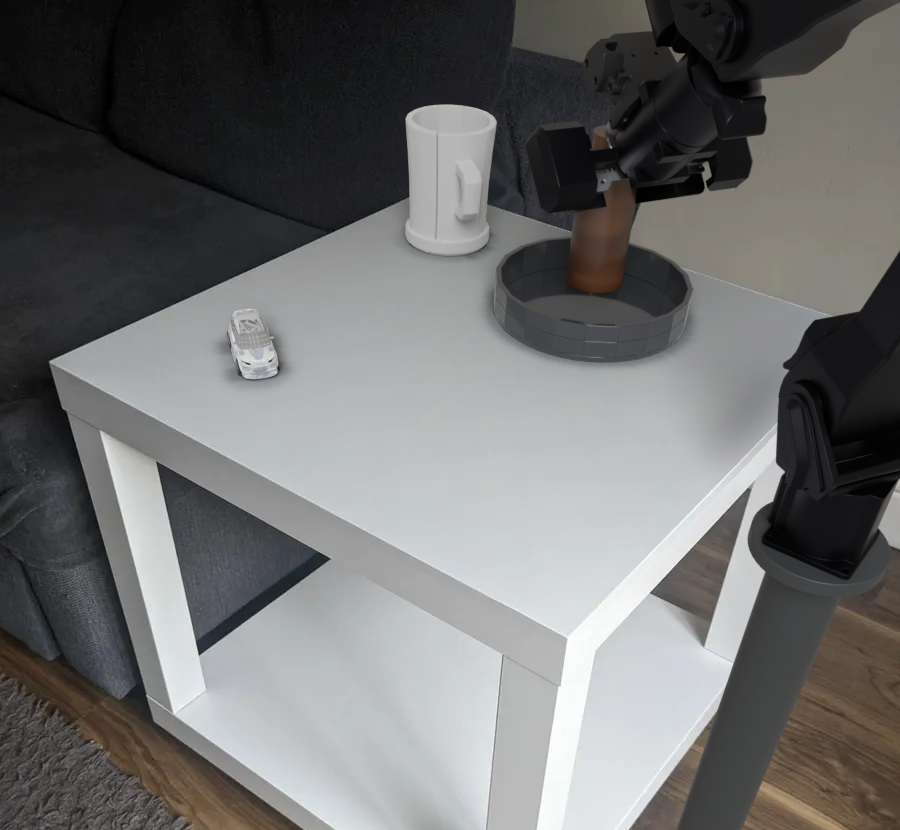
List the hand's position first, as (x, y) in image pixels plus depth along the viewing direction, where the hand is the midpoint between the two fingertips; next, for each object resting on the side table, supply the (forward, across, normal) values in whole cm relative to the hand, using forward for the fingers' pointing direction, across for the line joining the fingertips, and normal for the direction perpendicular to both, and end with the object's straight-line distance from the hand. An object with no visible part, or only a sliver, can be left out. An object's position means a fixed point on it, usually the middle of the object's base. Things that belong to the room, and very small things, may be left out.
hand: (597, 203), depth 87 cm
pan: (+6, 0, +8) cm, 10 cm away
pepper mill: (+4, 0, +6) cm, 7 cm away
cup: (+19, +6, -5) cm, 21 cm away
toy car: (+8, +32, +7) cm, 33 cm away
